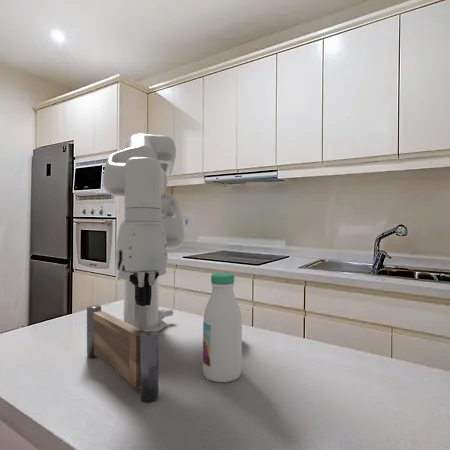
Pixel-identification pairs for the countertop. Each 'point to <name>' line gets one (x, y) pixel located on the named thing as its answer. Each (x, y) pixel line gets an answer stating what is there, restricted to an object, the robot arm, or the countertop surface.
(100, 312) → the walnut gate
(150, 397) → the post
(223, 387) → the countertop surface
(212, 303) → the milk bottle
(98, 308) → the hinge post
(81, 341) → the countertop surface
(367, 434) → the countertop surface
